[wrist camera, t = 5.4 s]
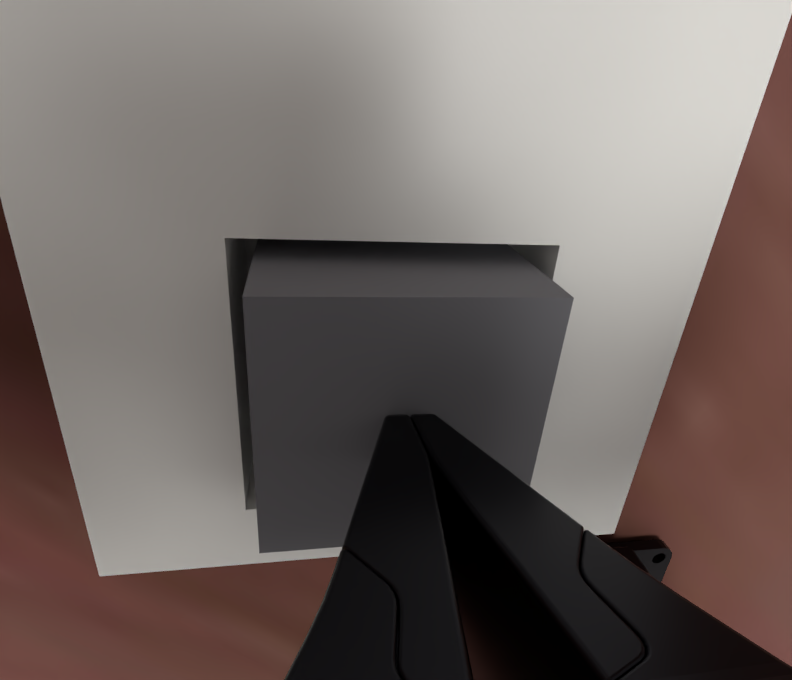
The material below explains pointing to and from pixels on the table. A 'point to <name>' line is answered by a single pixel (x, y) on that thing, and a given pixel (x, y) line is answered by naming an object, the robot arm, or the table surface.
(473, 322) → the key
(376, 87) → the white base plate
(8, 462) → the table surface
